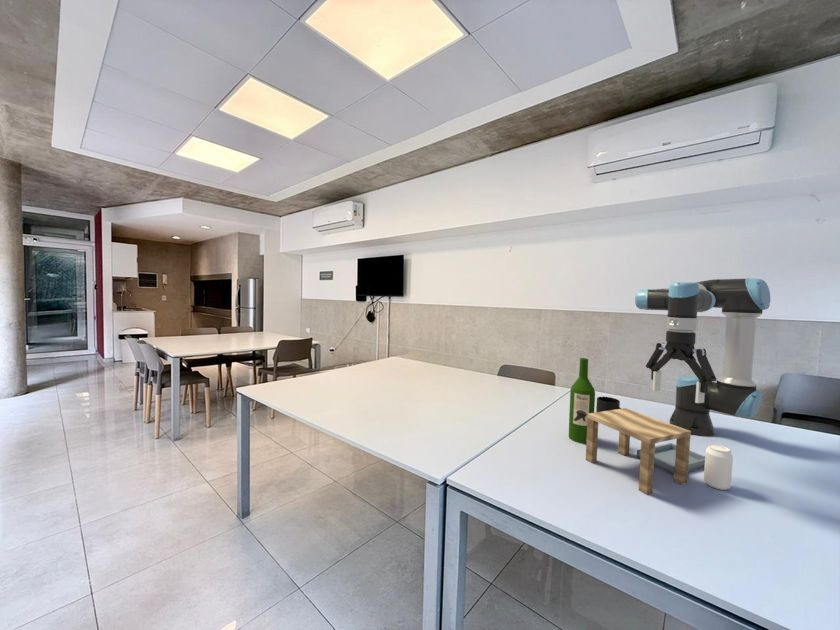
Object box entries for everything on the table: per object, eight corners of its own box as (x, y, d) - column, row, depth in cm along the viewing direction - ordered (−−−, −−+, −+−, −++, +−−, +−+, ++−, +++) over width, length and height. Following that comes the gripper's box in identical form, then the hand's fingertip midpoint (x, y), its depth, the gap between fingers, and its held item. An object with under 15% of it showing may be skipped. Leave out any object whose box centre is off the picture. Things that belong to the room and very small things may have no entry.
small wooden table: (622, 451, 126) (625, 408, 125) (687, 483, 106) (690, 431, 105) (585, 459, 120) (587, 413, 119) (646, 494, 99) (649, 439, 98)
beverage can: (724, 493, 100) (727, 454, 99) (699, 483, 106) (702, 445, 105) (734, 488, 103) (737, 449, 102) (709, 478, 109) (711, 441, 108)
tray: (670, 449, 129) (670, 442, 128) (709, 465, 117) (710, 458, 116) (636, 456, 122) (636, 450, 122) (674, 475, 110) (674, 467, 110)
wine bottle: (568, 441, 135) (572, 359, 133) (568, 432, 143) (571, 355, 141) (594, 445, 131) (597, 361, 129) (591, 436, 140) (595, 357, 138)
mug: (616, 425, 151) (617, 405, 151) (591, 416, 162) (592, 398, 161) (628, 422, 156) (629, 402, 155) (603, 413, 166) (604, 395, 166)
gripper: (636, 327, 120) (633, 386, 121) (717, 335, 96) (712, 409, 98) (652, 326, 122) (648, 385, 124) (734, 335, 99) (729, 407, 100)
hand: (676, 396), depth 111 cm, fingers open, 13 cm apart
